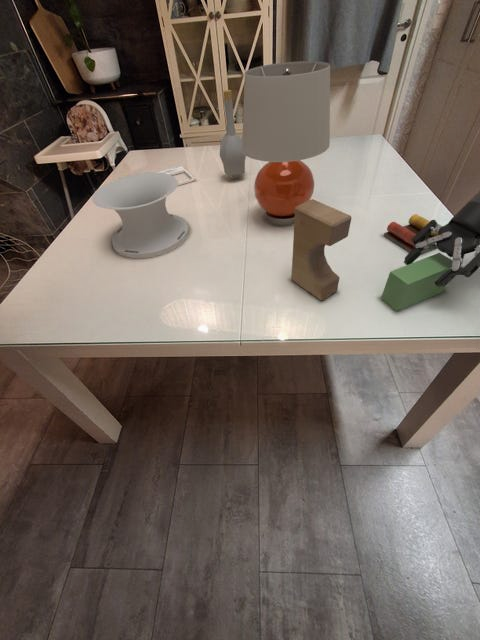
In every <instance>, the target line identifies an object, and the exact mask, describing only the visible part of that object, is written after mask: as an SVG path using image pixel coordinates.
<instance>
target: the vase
mask: <svg viewBox="0 0 480 640" xmlns="http://www.w3.org/2000/svg"><path fill="white" fill-rule="evenodd" d="M157 172H158V171H157ZM157 172H156V171H155V172H153V171H151V172H139V173H134V174H129V175H126V176H125V175H124V176H121V177H119V178H116V179H113V180H111V181H109V182H107V183H105V184H103V185H102V186H100V187H99V188H98V189H97V190H96V191H95V192H94V193H93V195H92V199H91V200H92V202H93V204H94V205H95V206H97V207H99V208H102V209H106V210H113V211H115V212H116V213H117V214H118V216H119V217H120V219H121V224H122V225H121V226H120V227H118V228H117V230H116V231H114V233H113V235H112V237H111V245H112V246H113V249H114V251H115V252H117V254H119V255H120V256H122V257H125V258H129V259H148V258H154V257H159V256H162V255H164V254H168V253H169V252H172V251H173V250H175V249H177V248H178V247H180V246H181V245H182V244H183V243H185V241H186V240H187V238H188V237H189V234H190V229H189V224H188V222H187V221H186V219H185V218H183V217H181V216H180V215H177V214H172V213H169V211H168V210H167V205H166V199H167V197H168V196H170V195H171V194H172V193H174V191H176V190H177V188H178V186H179V185H178V182H179V180H178V179H177V178H176V177H175V176H174V175H169V174H165V173H157Z"/></svg>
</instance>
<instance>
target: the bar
mask: <svg viewBox="0 0 480 640" xmlns="http://www.w3.org/2000/svg"><path fill="white" fill-rule="evenodd" d="M452 263H453V259H452V258H449V256H446V255H444V254H443V253H442V252H437V253H434V254H433V255H430V256H427V257H424V258H422V259H419V260H417V261H416V260H415V261H414V262H413V263H411V264H409V265H406V264H405V265H403V266H401V267H399V268H395V269H394V270H391V271H390V272H389V274H388V277H387V280H386V283H385V285H384V288H383V291H382V294H381V296H380V299H381V301H383V302H384V303H385V304H386V305H388V306H389V307H390V308H391V309H392V310H393V311H395V312H399V311H401V310H403V309H406V308H408V307H411V306H413V305H415V304H418V303H420V302H423V301H425V300H427V299H429V298H432V297H435V296H437V295H439V294H441V293H444V291H445V290H446V288H447V286H448V284H447V285H445V286H441V287H438V286H436V285H435V281H436V280H437V279H439V278H440V277H441V276H442V275H443V274H444V273H445V272H446V271H447V270H448V269H450V270H451V269H452Z"/></svg>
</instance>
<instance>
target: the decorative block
mask: <svg viewBox="0 0 480 640" xmlns="http://www.w3.org/2000/svg"><path fill="white" fill-rule="evenodd" d="M351 223H352V215H350V214H348V213H346V212H343V211H341V210H339V209H336V208H334V207H332V206H330V205H327V204H326V203H322V202H321V201H318V200H316V199H314V198H313V199H312V198H311V199H310V201H307V202H305V203H303V204H301V205H299V206H296V207H295V219H294V224H293V242H292V260H291V262H292V263H291V278H290V279H291V281H293V283H296V284H297V285H298V286H300V287H301V288H302V289H304V290H305V291H306V292H308V293H310V295H313V296H314V297H316V298H317V299H319V301H320V302H321V301H324V300H326V299H328V298H329V297H331V296H332V295H334V294H335V293H337V292H338V288H339V284H340V283H339V282H340V276H339V275H338V274H337V273H336V272H335V271H333V269H332V268H331V267H330V265H329V263H328V261H327V258H326V255H325V247H326V246H328V247H331V246H333V245H336V244H338V243H339V242H341V241H343V240H344V239H346V238H348V236H349V232H350V228H351Z"/></svg>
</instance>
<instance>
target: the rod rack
mask: <svg viewBox="0 0 480 640" xmlns="http://www.w3.org/2000/svg"><path fill="white" fill-rule="evenodd" d="M430 221H431V220H428V219H426V218H424V217H422V216H420V215H418V214H417V213H415V214H412V215H411V216H410V217H409V218H408V224H406V225H402V224H399V223H398V222H396V221H391V222H389V224H387V227H386V232H384V233H383V237H384V238H386V239H387V240H389V241H390V242H392V243H394V244H395V245H396V246H398V247H400V248H401V249H403V250H404V251H406V252H408V254H409V253H410V252H411V251H412V250H413V249H414V247H415V245H414V244H413V242H412V238H413V237H414V236H415V235H416V234H417V233H418V232H419V231H420V230H421V229H423V228H424V227H425V226H426V225H427V224H428V223H429V222H430ZM435 236H438V231H437V232H436V233H433V234H431V235H430V236H429V237H428V238H427V239H429V238H432V237H435ZM427 239H426V240H427ZM426 240H425V241H426ZM430 251H432V250H427V251H424V252H421V255H423V254H426V253H428V252H430Z"/></svg>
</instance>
